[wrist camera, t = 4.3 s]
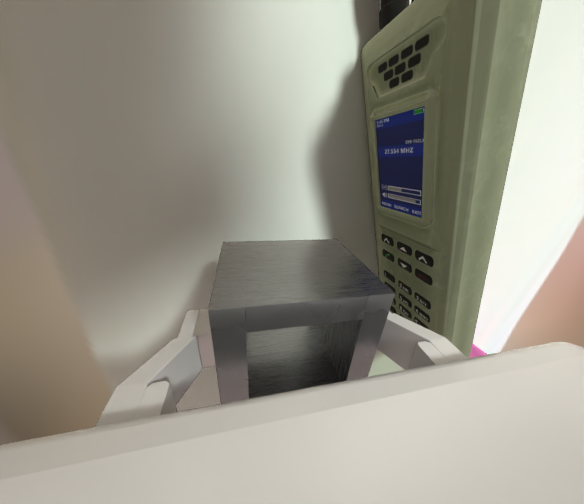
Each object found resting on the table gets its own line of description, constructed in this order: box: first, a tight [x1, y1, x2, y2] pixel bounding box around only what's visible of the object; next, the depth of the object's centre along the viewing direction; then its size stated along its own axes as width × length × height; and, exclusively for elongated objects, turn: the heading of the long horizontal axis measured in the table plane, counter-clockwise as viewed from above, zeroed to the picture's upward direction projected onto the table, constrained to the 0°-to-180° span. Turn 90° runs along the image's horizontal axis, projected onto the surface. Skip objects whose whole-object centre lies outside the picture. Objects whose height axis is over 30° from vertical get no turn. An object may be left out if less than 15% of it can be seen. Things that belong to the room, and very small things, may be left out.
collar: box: [208, 239, 395, 404], centre depth 10 cm, size 6×6×5 cm
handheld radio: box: [361, 0, 542, 358], centre depth 11 cm, size 7×3×25 cm
